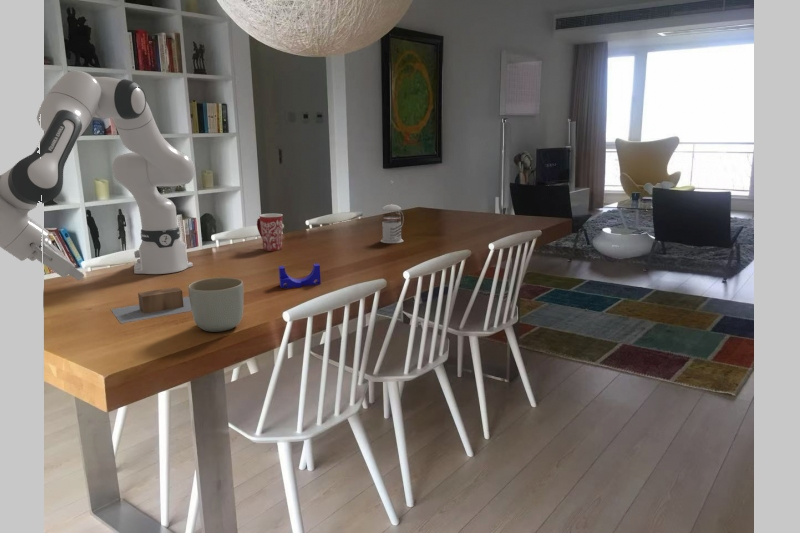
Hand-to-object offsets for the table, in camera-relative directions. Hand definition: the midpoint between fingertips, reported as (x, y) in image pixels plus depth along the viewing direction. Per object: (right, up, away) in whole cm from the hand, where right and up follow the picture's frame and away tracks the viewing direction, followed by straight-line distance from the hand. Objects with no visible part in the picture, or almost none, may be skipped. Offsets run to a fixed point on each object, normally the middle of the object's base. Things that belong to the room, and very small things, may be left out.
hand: (81, 277), depth 143 cm
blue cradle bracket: (+47, -3, +35) cm, 59 cm away
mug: (+26, +10, +89) cm, 93 cm away
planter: (+34, -12, -2) cm, 36 cm away
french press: (+75, +13, +103) cm, 128 cm away
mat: (+14, -9, +12) cm, 21 cm away
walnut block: (+11, -7, +9) cm, 16 cm away
